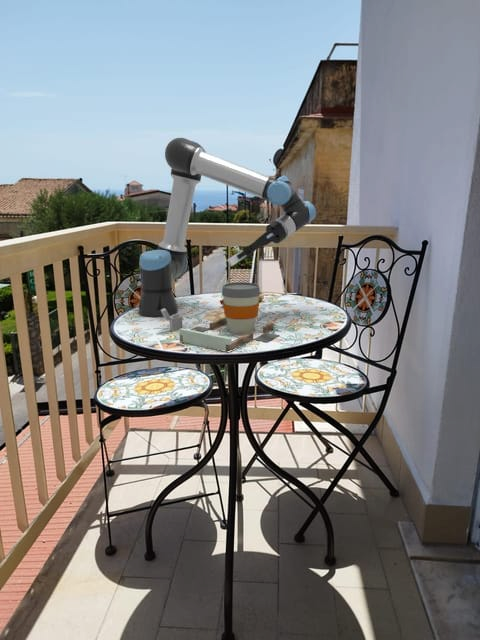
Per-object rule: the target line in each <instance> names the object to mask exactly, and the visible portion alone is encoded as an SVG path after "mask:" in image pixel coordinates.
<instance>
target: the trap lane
mask: <svg viewBox="0 0 480 640" xmlns="http://www.w3.org/2000/svg"><path fill="white" fill-rule="evenodd" d="M225 325H227V319H226V317H225V316H223V317H221V318H218V319H216V320H213V321H211V322H209V327H202V326H195V327H192V328H190V329H189V330H193V331H198V332H204V333H206V331H207V332H208V331H209V330H211V331H213V329H214V330H215V329H218V328H221V327H223V326H225ZM274 330H275V323H274V322H269V323H267V324H265V325H263V326H262V334H260V335H259V336H257V337H255V338H254V333H253V332H250V333H245V334H244V335H243V336H241V337H237V338H236V339H233V340H232V344H231V345H226V351H230V350H233V349H235V348H237V347H239V346H241V345H243V344H245V343H247V344H248V342H249V343H250V341H251V342H252V341H255V340H256V342H260V341H262V343H266V342H268V343H269V341H270V342H271V341H273V340H274V339H277V338H278V337H280V334H276V333H272V331H274ZM270 332H271V333H270ZM179 342H181V343H184V342H183V335H180V334H179ZM245 345H246V344H245ZM243 346H244V345H243ZM241 347H242V346H241ZM239 348H240V347H239ZM237 349H238V348H237ZM235 350H236V349H235ZM233 351H234V350H233Z"/></svg>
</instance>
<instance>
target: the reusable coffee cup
mask: <svg viewBox="0 0 480 640" xmlns="http://www.w3.org/2000/svg"><path fill="white" fill-rule="evenodd" d="M260 288H261V287H260V284H258V283H254V282H244V281H243V282H242V281H240V282H230V283H229V282H227V283H225V284H223V285H222V290H221V295H222V298H223V299H224V302H223V313H224V317H226V319H227V324H226V325H227V331H228V332H229V331H230V333H233V334H238V333H239V334H240V333H241V334H244V335H245V334H248V333H253V332H254V331H255V329H256V328H255V327H256V322H257V317H258V315H259V310H260V309H259V308H260V302H258V300H259V295H261V290H260ZM223 299H222V300H223ZM241 334H240V335H241Z"/></svg>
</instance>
